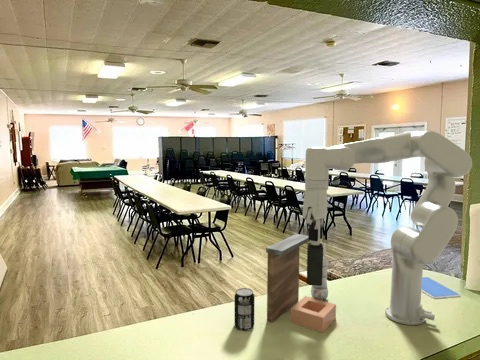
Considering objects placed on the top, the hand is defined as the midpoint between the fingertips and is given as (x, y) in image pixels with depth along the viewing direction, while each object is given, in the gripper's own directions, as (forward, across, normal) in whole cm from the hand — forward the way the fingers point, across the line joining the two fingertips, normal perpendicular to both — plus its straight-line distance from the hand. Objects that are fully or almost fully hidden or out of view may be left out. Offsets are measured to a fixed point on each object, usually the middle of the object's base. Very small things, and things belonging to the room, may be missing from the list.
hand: (315, 238), depth 118 cm
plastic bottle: (+29, -17, -5) cm, 34 cm away
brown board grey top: (+29, 0, -10) cm, 30 cm away
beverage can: (+29, +17, -17) cm, 38 cm away
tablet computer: (+30, -54, +29) cm, 68 cm away
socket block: (+29, 0, 0) cm, 29 cm away
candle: (+15, 0, 0) cm, 15 cm away
